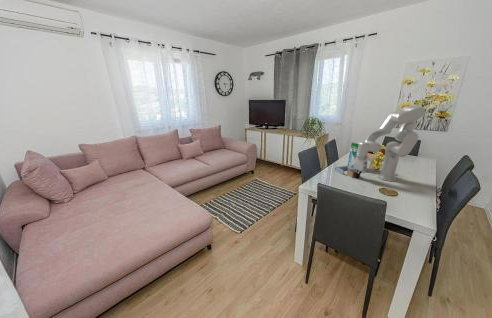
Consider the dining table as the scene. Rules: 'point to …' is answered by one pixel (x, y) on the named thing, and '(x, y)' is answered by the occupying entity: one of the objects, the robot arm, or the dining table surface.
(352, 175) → the block
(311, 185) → the dining table surface
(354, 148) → the milk carton
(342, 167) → the bay
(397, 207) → the dining table surface
